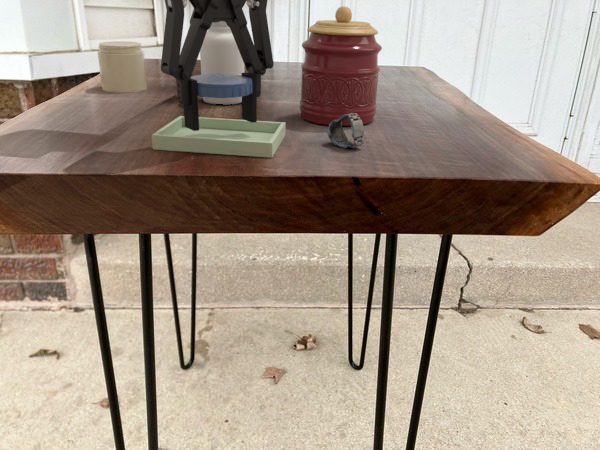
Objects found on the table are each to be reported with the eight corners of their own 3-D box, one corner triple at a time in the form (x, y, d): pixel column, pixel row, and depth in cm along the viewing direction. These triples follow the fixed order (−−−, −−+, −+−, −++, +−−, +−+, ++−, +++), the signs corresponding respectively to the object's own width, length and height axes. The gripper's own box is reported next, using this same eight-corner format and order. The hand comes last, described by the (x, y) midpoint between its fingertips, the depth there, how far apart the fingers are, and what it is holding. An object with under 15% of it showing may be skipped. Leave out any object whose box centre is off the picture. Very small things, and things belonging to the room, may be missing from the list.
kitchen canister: (384, 127, 85) (396, 9, 78) (305, 127, 83) (309, 7, 76) (364, 109, 97) (373, 5, 89) (294, 109, 95) (297, 3, 88)
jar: (95, 102, 96) (88, 44, 91) (115, 93, 103) (109, 40, 99) (137, 104, 95) (132, 46, 91) (154, 96, 102) (150, 42, 98)
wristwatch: (352, 153, 76) (336, 124, 77) (372, 137, 72) (354, 105, 72) (337, 159, 74) (320, 129, 75) (355, 142, 70) (338, 110, 71)
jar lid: (258, 88, 75) (258, 75, 74) (244, 99, 67) (244, 86, 66) (200, 84, 76) (199, 72, 75) (179, 95, 68) (178, 82, 67)
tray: (152, 149, 70) (151, 134, 69) (180, 128, 80) (179, 115, 80) (272, 157, 69) (272, 143, 68) (285, 135, 79) (285, 122, 78)
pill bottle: (194, 100, 100) (189, 14, 93) (228, 95, 105) (226, 14, 98) (218, 107, 94) (215, 18, 88) (253, 102, 99) (253, 17, 93)
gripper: (145, -69, 55) (161, 141, 65) (304, -55, 67) (298, 120, 77) (119, -66, 61) (137, 127, 70) (270, -54, 73) (268, 110, 82)
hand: (221, 124), depth 73 cm, fingers closed on jar lid, 8 cm apart
